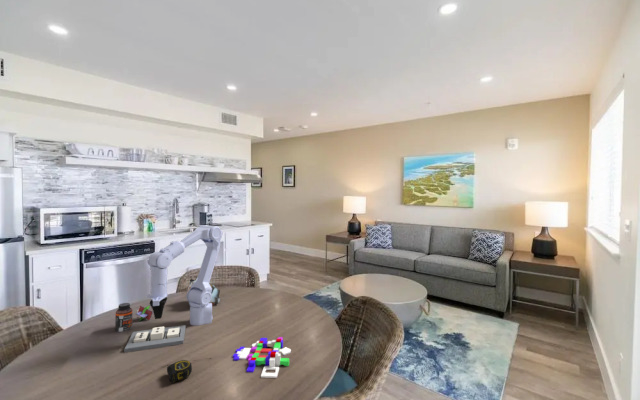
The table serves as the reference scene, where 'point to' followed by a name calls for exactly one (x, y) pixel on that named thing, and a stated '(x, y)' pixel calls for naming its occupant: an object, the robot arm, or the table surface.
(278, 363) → the building block set
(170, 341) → the keypad board
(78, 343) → the table surface
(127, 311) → the supplement bottle
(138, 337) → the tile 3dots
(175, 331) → the tile
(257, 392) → the table surface
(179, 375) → the tape measure
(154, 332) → the tile
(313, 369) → the table surface
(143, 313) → the geometric puzzle
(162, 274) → the robot arm
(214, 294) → the lucky cat figurine
